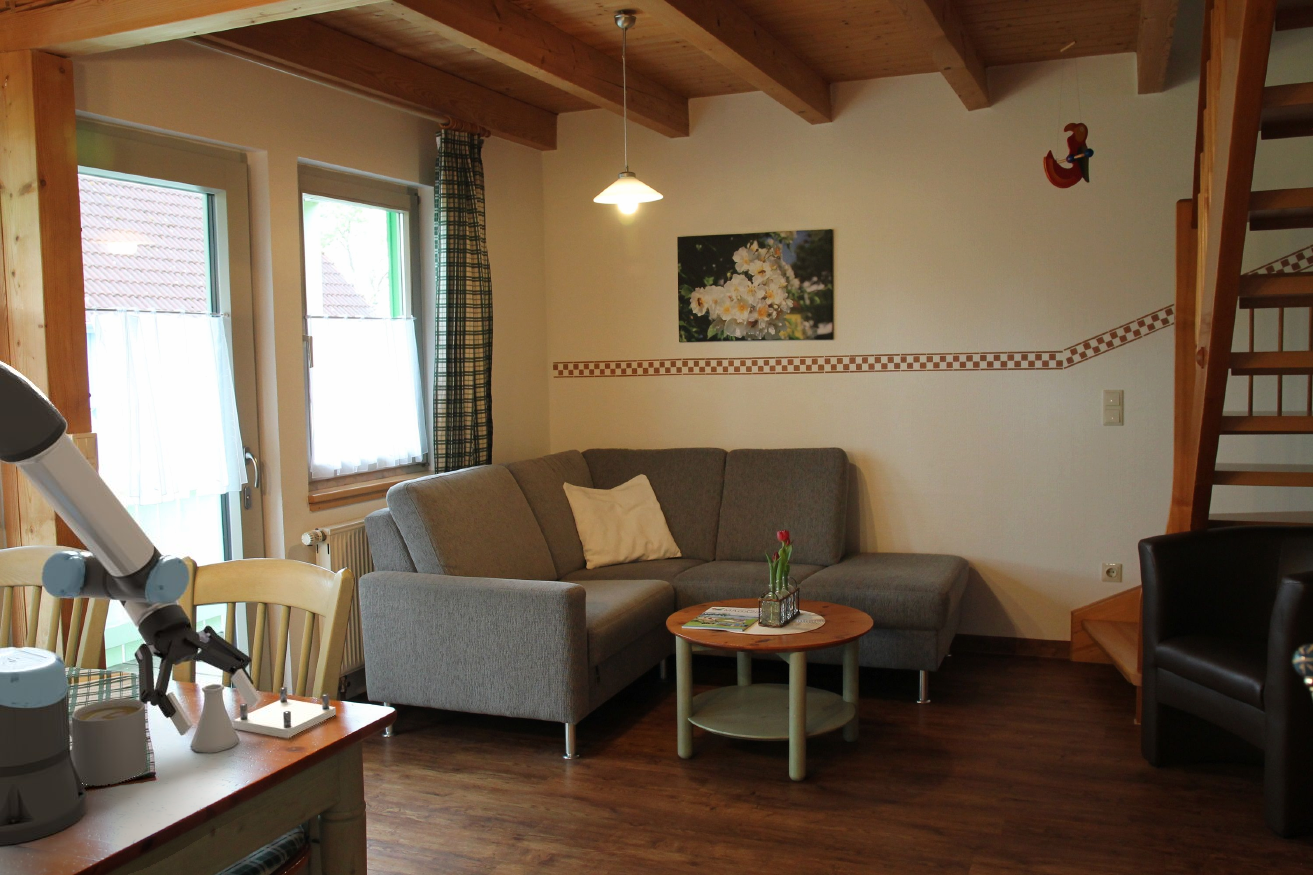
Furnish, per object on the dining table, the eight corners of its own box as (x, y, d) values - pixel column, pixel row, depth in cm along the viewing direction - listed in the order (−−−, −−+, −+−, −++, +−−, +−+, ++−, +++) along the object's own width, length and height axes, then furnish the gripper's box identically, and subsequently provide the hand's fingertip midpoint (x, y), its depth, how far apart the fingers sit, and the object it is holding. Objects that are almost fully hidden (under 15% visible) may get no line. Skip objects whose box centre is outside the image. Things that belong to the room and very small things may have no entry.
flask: (181, 749, 167) (179, 690, 166) (217, 734, 173) (215, 677, 173) (213, 756, 164) (210, 696, 163) (248, 741, 170) (246, 683, 169)
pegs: (287, 728, 172) (287, 713, 172) (238, 719, 176) (238, 705, 176) (330, 707, 182) (330, 694, 182) (283, 699, 186) (283, 686, 186)
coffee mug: (160, 760, 162) (157, 699, 161) (123, 786, 152) (120, 721, 151) (80, 757, 163) (77, 697, 162) (38, 783, 153) (34, 719, 152)
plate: (288, 738, 172) (287, 729, 171) (233, 728, 176) (233, 719, 176) (335, 715, 183) (335, 707, 182) (283, 706, 187) (283, 698, 187)
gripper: (210, 613, 186) (271, 706, 180) (79, 648, 164) (144, 755, 158) (229, 587, 183) (292, 681, 177) (99, 620, 161) (166, 728, 155)
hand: (222, 716), depth 168 cm, fingers open, 13 cm apart
